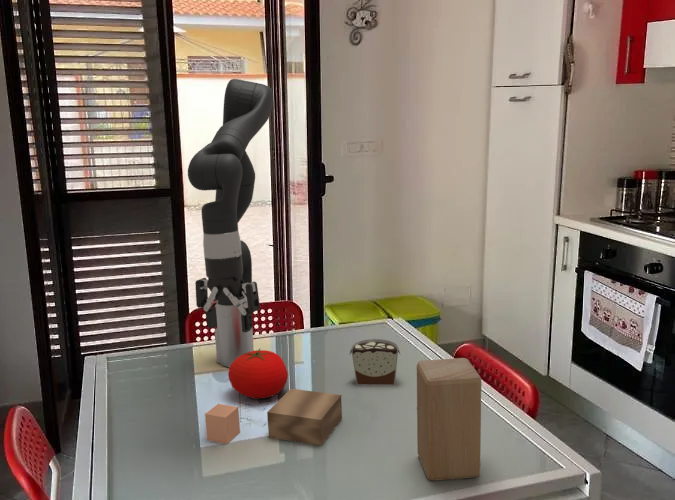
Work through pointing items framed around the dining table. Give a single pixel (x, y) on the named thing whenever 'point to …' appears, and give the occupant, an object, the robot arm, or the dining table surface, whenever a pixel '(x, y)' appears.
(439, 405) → the wooden block
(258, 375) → the tomato
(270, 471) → the dining table surface
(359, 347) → the food container
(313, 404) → the walnut block
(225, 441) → the terracotta block
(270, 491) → the dining table surface
